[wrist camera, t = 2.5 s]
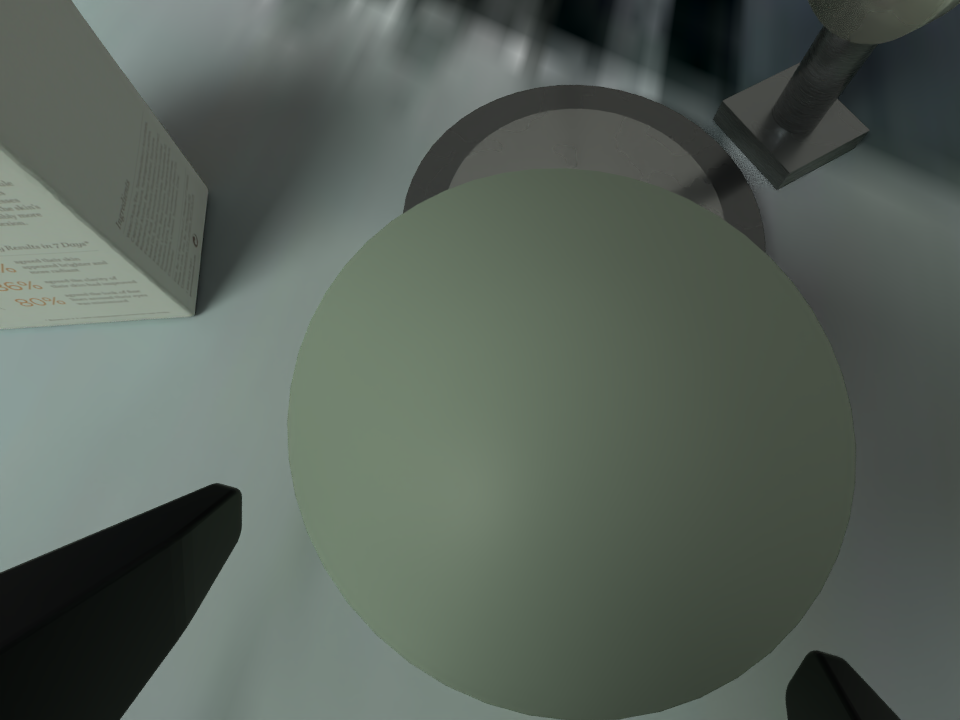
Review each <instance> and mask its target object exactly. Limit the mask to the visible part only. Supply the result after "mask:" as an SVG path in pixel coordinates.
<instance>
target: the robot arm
mask: <svg viewBox="0 0 960 720" xmlns="http://www.w3.org/2000/svg"><path fill="white" fill-rule="evenodd" d="M241 528H242V494H241V492H240V490H239V489H237V488H234V487H231V486H227V485H223V484H220V483H215V484H211V485H209V486H206V487H204V488H201V489H199V490H197V491H194V492H192V493H189V494H187V495H185V496H182V497H180V498H177V499H175V500H173V501H170V502H168V503H166V504H163V505H161V506H158V507H156V508H154V509H151V510H149V511H146V512H144V513H142V514H139V515H137V516H135V517H132V518H130V519H127V520H125V521H123V522H120V523H118V524H115V525H113V526H111V527H108V528H106V529H103V530H101V531H99V532H96V533H94V534H92V535H89V536H87V537H84V538H82V539H80V540H77V541H75V542H72V543H70V544H68V545H65V546H63V547H61V548H58V549H56V550H53V551H51V552H49V553H46V554H44V555H41V556H39V557H37V558H34V559H32V560H29V561H27V562H25V563H22V564H20V565H18V566H15V567H13V568H10V569H8V570H6V571H3V572H1V573H0V720H120V719H121V717H122V716H123V715H124V713H125V712H126V711H127V709H128V708H129V707H130V705H131V704H132V702H133V701H134V700H135V698H136V697H137V696H138V694H139V693H140V691H141V690H142V689H143V687H144V686H145V685H146V683H147V682H148V681H149V679H150V678H151V676H152V675H153V674H154V672H155V671H156V670H157V668H158V667H159V665H160V664H161V663H162V661H163V660H164V659H165V657H166V656H167V655H168V653H169V652H170V650H171V649H172V648H173V646H174V645H175V644H176V642H177V641H178V639H179V638H180V637H181V635H182V634H183V632H184V631H185V629H186V628H187V626H188V625H189V623H190V621H191V620H192V618H193V617H194V615H195V613H196V612H197V610H198V608H199V607H200V605H201V603H202V601H203V600H204V598H205V596H206V595H207V593H208V591H209V590H210V588H211V586H212V584H213V583H214V581H215V579H216V578H217V576H218V574H219V572H220V571H221V569H222V567H223V566H224V564H225V562H226V561H227V559H228V557H229V555H230V554H231V552H232V550H233V549H234V547H235V545H236V543H237V542H238V539H239V537H240V534H241ZM786 708H787V716H788V720H901V719H900V718H899V717H898V716H897V715H896V714H895V713H894V712H893V711H892V710H891V709H890V708H889V707H888V705H887V704H886V703H885V702H884V701H883V700H882V699H881V698H880V697H879V696H878V695H877V694H876V693H875V692H874V691H873V689H872V688H871V687H870V686H869V685H868V684H867V683H866V682H865V681H864V680H863V679H862V678H861V677H860V676H859V674H858V673H857V672H856V671H855V670H854V669H853V668H852V667H851V666H850V665H849V664H848V663H847V662H846V661H845V660H844V659H842V658H840V657H838V656H835V655H831V654H828V653H824V652H821V651H811V652H809V653H808V654H807V655H806V657H805V658H804V660H803V661H802V663H801V665H800V666H799V668H798V669H797V671H796V673H795V674H794V676H793V677H792V679H791V680H790V682H789V684H788V687H787V690H786Z"/></svg>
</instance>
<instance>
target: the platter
mask: <svg viewBox="0 0 960 720" xmlns="http://www.w3.org/2000/svg"><path fill="white" fill-rule="evenodd" d="M557 168H568V169H579V170H591V171H600V172H605V173H610V174H615V175H620V176H625V177H630V178H633V179H636V180H639V181H642V182H646V183H649V184H652V185H655V186H659V187H661V188H664V189H666V190H668V191H670V192H673V193H675V194H677V195H680V196H682V197H684V198H687V199H689V200H691V201H693V202H694V203H696V204H698V205H700V206H702V207H703V208H705V209H707V210H709V211H710V212H712V213H714V214H716V215H718V216H719V217H720V218H722V219H723V220H725V221H726V222H727V223H729V224H730V225H732V226H733V227H734V228H736V229H737V230H739V231H740V232H741V233H743V234H744V235H745V236H747V237H748V238H749V239H750V240H751V241H752V242H753V243H754V244H756V245H757V246H758V247H759V248H760V249H761V250H762V251H763V252H765V238H764V228H763V224H762V220H761V215H760V211H759V208H758V205H757V203H756V200H755V198H754V195H753V192H752V190H751V188H750V187H749V185H748V183H747V181H746V179H745V177H744V176H743V174H742V172H741V171H740V169H739V168H738V167H737V165H736V164H735V163H734V161H733V160H732V159H731V157H730V156H729V155H728V154H727V153H726V152H725V150H724V149H723V148H722V147H721V146H720V145H719V144H718V143H717V142H716V141H715V140H714V139H713V138H712V137H710V136H709V135H708V134H707V133H706V132H705V131H703V130H702V129H701V128H700V127H699V126H697V125H696V124H694V123H693V122H691V121H690V120H688V119H687V118H685V117H684V116H682V115H681V114H679V113H677V112H675V111H673V110H671V109H669V108H667V107H666V106H664V105H662V104H659V103H657V102H654V101H652V100H649V99H647V98H644V97H642V96H638V95H635V94H631V93H628V92H624V91H621V90H615V89H610V88H604V87H597V86H585V85H557V86H548V87H540V88H534V89H530V90H525V91H521V92H517V93H514V94H511V95H508V96H505V97H502V98H499V99H496V100H494V101H492V102H490V103H488V104H486V105H484V106H482V107H480V108H478V109H476V110H475V111H473V112H471V113H470V114H468V115H467V116H465V117H464V118H462V119H461V120H459V121H458V122H457V123H456V124H455V125H453V126H452V127H451V128H450V129H448V130H447V131H446V132H445V133H444V134H443V135H442V136H441V137H440V138H439V140H438V141H437V142H436V143H435V144H434V145H433V146H432V147H431V149H430V150H429V152H428V153H427V154H426V156H425V157H424V159H423V160H422V161H421V163H420V165H419V167H418V169H417V171H416V173H415V175H414V177H413V179H412V182H411V184H410V187H409V190H408V193H407V196H406V200H405V206H404V211H403V213H405V212H407V211H408V210H410V209H411V208H413V207H414V206H416V205H417V204H419V203H421V202H423V201H425V200H427V199H429V198H431V197H433V196H435V195H437V194H439V193H441V192H443V191H445V190H448V189H451V188H454V187H456V186H459V185H462V184H465V183H467V182H470V181H473V180H476V179H481V178H485V177H489V176H493V175H497V174H501V173H507V172H515V171H522V170H530V169H557Z"/></svg>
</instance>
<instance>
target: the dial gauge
mask: <svg viewBox="0 0 960 720" xmlns="http://www.w3.org/2000/svg"><path fill="white" fill-rule="evenodd" d="M808 2H809V4H810V6H811V8H812V10H813V12H814V13H815V15H816V16H817V18H818V19H819V21H820V22H821V23H822V24H823V25H824V26H823V27H822V29H821V31H820V32H819V34H818V35H817V37H816V39H815V40H814V42H813V43H812V45H811V47H810V48H809V50H808V52H807V53H806V55H805V56H804V58H803V60H802V61H801V63H798V64H796V65H794V66H792V67H790V68H788V69H786V70H784V71H782V72H780V73H778V74H776V75H774V76H772V77H770V78H768V79H766V80H764V81H762V82H760V83H758V84H756V85H754V86H752V87H750V88H748V89H746V90H744V91H742V92H739V93H737V94H735V95H733V96H731V97H729V98H727V99H725V100H723V101H722V103H721V105H720V107H719V109H718V111H717V113H716V115H715V117H714V119H713V120H714V121H715V122H716V123H717V124H718V126H719V127H720V128H721V129H722V130H723V131H724V132H725V133H726V134H727V135H728V137H729V138H730V139H731V140H732V141H733V142H734V143H735V144H736V145H737V146H738V148H739V149H740V150H741V151H742V152H743V153H744V154H745V155H746V156H747V157H748V159H749V160H750V161H751V162H752V163H753V164H754V165H755V166H756V167H757V168H758V170H759V171H760V172H761V173H762V174H763V175H764V176H765V177H766V178H767V179H768V181H769V182H770V183H771V184H772V185H773V186H774V187H775V188H776V189H779V188H781V187H783V186H785V185H787V184H789V183H790V182H792V181H794V180H796V179H798V178H800V177H802V176H803V175H805V174H807V173H809V172H811V171H813V170H815V169H816V168H818V167H820V166H822V165H824V164H826V163H828V162H829V161H831V160H833V159H835V158H837V157H839V156H841V155H842V154H844V153H846V152H848V151H850V150H852V149H854V148H855V147H856V145H857V144H858V143H859V142H860V141H861V140H862V139H863V137H864V136H865V135H866V134H867V133H868V132H869V129H868V128H867V127H866V126H865V125H864V124H863V123H862V122H861V121H859V120H858V119H857V118H856V117H855V116H854V115H853V114H852V113H851V112H850V111H849V110H848V109H847V108H846V107H845V106H844V105H843V104H842V103H841V102H840V101H839V100H838V99H837V98H838V97H839V96H840V94H841V93H842V92H843V90H844V89H845V88H846V86H847V85H848V84H849V82H850V81H851V80H852V78H853V77H854V76H855V74H856V73H857V72H858V70H859V69H860V68H861V66H862V65H863V64H864V62H865V61H866V60H867V58H868V57H869V56H870V54H871V53H872V52H873V50H874V49H875V47H876V46H877V45H878V44H880V43H884V42H888V41H892V40H894V39H897V38H899V37H902V36H904V35H906V34H908V33H910V32H912V31H914V30H916V29H918V28H920V27H922V26H924V25H926V24H928V23H930V22H932V21H933V20H935V19H937V18H939V17H941V16H943V15H944V14H946V13H947V12H949V11H950V10H951V9H953V8H954V7H955V6H957V5H958V4H959V3H960V0H808Z"/></svg>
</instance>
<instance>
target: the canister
mask: <svg viewBox="0 0 960 720" xmlns="http://www.w3.org/2000/svg"><path fill="white" fill-rule="evenodd" d="M287 426H288V451H289V462H290V468H291V474H292V479H293V485H294V490H295V496H296V499H297V502H298V505H299V508H300V511H301V514H302V517H303V520H304V524H305V527H306V530H307V533H308V535H309V537H310V539H311V541H312V543H313V545H314V547H315V549H316V551H317V553H318V555H319V557H320V560H321V562H322V564H323V566H324V568H325V570H326V571H327V573H328V574H329V576H330V577H331V578H332V580H333V581H334V583H335V584H336V586H337V587H338V589H339V590H340V592H341V593H342V595H343V596H344V598H345V599H346V601H347V602H348V604H349V605H350V606H351V607H352V608H353V609H354V610H355V611H356V613H357V614H358V615H359V616H360V617H361V618H362V619H363V620H364V622H365V623H366V624H367V625H368V626H369V627H370V628H371V629H372V631H373V632H374V633H375V634H376V635H377V636H378V637H380V638H381V639H382V640H383V641H384V642H386V643H387V644H388V645H389V646H390V647H391V648H393V649H394V650H395V651H396V652H397V653H399V654H400V655H401V656H402V657H403V658H405V659H406V660H407V661H408V662H409V663H411V664H413V665H414V666H416V667H417V668H419V669H421V670H422V671H424V672H425V673H427V674H428V675H430V676H432V677H433V678H435V679H436V680H438V681H440V682H441V683H443V684H444V685H446V686H448V687H451V688H453V689H455V690H457V691H460V692H462V693H464V694H466V695H469V696H471V697H473V698H475V699H478V700H480V701H482V702H485V703H487V704H490V705H494V706H498V707H501V708H505V709H509V710H512V711H516V712H519V713H523V714H527V715H531V716H539V717H547V718H555V719H564V720H617V719H623V718H628V717H634V716H639V715H645V714H650V713H656V712H661V711H664V710H666V709H669V708H672V707H675V706H678V705H681V704H684V703H687V702H689V701H692V700H695V699H698V698H701V697H703V696H704V695H706V694H708V693H710V692H712V691H714V690H716V689H718V688H719V687H721V686H723V685H725V684H727V683H729V682H731V681H732V680H734V679H736V678H738V677H739V676H741V675H742V674H743V673H744V672H746V671H747V670H748V669H750V668H751V667H752V666H754V665H755V664H756V663H758V662H759V661H760V660H762V659H763V658H764V657H766V656H767V655H768V654H769V653H771V652H772V651H773V650H774V649H775V647H776V646H777V645H778V644H779V643H780V642H781V641H782V640H783V639H784V638H785V637H786V636H787V635H788V634H789V633H790V632H791V631H792V630H793V629H794V628H795V627H796V625H797V624H798V623H799V622H800V620H801V619H802V618H803V616H804V615H805V613H806V612H807V610H808V609H809V607H810V606H811V605H812V603H813V602H814V600H815V599H816V597H817V596H818V595H819V593H820V592H821V590H822V588H823V586H824V584H825V582H826V580H827V578H828V575H829V573H830V571H831V569H832V567H833V565H834V563H835V561H836V559H837V557H838V554H839V551H840V548H841V545H842V541H843V538H844V535H845V532H846V529H847V525H848V522H849V518H850V512H851V506H852V499H853V493H854V487H855V462H856V443H855V435H854V427H853V419H852V410H851V406H850V402H849V398H848V394H847V390H846V386H845V383H844V379H843V375H842V372H841V370H840V367H839V365H838V362H837V360H836V357H835V355H834V352H833V349H832V347H831V344H830V342H829V340H828V338H827V336H826V334H825V333H824V331H823V329H822V327H821V325H820V323H819V322H818V320H817V318H816V316H815V314H814V312H813V311H812V309H811V308H810V306H809V305H808V304H807V302H806V301H805V299H804V298H803V297H802V295H801V294H800V292H799V291H798V289H797V288H796V287H795V285H794V284H793V282H792V281H791V280H790V279H789V278H788V277H787V276H786V275H785V274H784V272H783V271H782V270H781V269H780V268H779V267H778V266H777V265H776V264H775V262H774V261H773V260H772V259H771V258H770V257H769V256H768V255H767V254H766V253H765V252H763V251H762V250H761V249H760V248H759V247H758V246H757V245H756V244H754V243H753V242H752V241H751V240H750V239H749V238H748V237H747V236H745V235H744V234H743V233H741V232H740V231H739V230H737V229H736V228H734V227H733V226H732V225H730V224H729V223H727V222H726V221H725V220H723V219H722V218H720V217H719V216H718V215H716V214H714V213H712V212H710V211H709V210H707V209H705V208H703V207H702V206H700V205H698V204H696V203H694V202H693V201H691V200H689V199H687V198H684V197H682V196H680V195H677V194H675V193H673V192H670V191H668V190H666V189H664V188H661V187H659V186H655V185H652V184H649V183H646V182H642V181H639V180H636V179H633V178H630V177H625V176H620V175H615V174H610V173H605V172H600V171H591V170H579V169H568V168H557V169H530V170H522V171H515V172H507V173H501V174H497V175H493V176H489V177H485V178H481V179H476V180H473V181H470V182H467V183H465V184H462V185H459V186H456V187H454V188H451V189H448V190H445V191H443V192H441V193H439V194H437V195H435V196H433V197H431V198H429V199H427V200H425V201H423V202H421V203H419V204H417V205H416V206H414V207H413V208H411V209H410V210H408V211H407V212H405V213H403V214H402V215H400V216H399V217H397V218H396V219H394V220H393V221H391V222H390V223H389V224H388V225H386V226H385V227H384V228H383V229H382V230H381V231H379V232H378V233H377V234H376V235H375V236H373V237H372V238H371V239H370V240H369V241H367V242H366V243H365V245H364V246H363V247H362V248H361V249H360V250H359V251H358V252H357V253H356V254H355V255H354V256H353V258H352V259H351V260H350V261H349V262H348V263H347V264H346V265H345V266H344V268H343V269H342V271H341V272H340V273H339V275H338V276H337V278H336V279H335V280H334V282H333V283H332V285H331V286H330V287H329V289H328V290H327V291H326V293H325V295H324V297H323V299H322V301H321V303H320V304H319V306H318V308H317V310H316V312H315V314H314V316H313V317H312V319H311V321H310V324H309V326H308V329H307V332H306V334H305V337H304V340H303V342H302V345H301V348H300V350H299V353H298V357H297V362H296V366H295V370H294V374H293V379H292V383H291V389H290V399H289V409H288V420H287Z"/></svg>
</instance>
